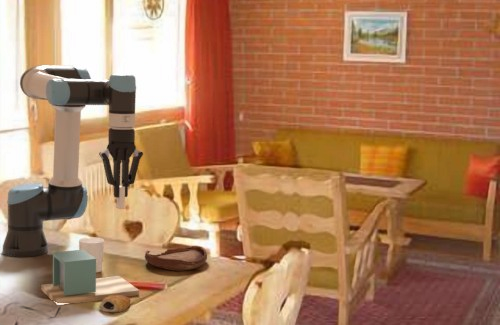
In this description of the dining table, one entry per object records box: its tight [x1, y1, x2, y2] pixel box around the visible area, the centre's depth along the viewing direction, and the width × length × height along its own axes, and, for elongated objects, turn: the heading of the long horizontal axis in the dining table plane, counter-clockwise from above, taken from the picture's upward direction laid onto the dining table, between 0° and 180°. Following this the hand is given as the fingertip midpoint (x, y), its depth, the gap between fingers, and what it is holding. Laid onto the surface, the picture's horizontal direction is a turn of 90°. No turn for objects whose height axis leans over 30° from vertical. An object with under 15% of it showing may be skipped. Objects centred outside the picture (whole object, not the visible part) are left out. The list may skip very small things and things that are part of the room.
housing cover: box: [52, 249, 97, 296], centre depth 220 cm, size 11×9×10 cm
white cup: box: [78, 236, 105, 274], centre depth 245 cm, size 8×8×10 cm
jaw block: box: [59, 261, 64, 292], centre depth 219 cm, size 6×6×8 cm
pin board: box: [40, 275, 140, 304], centre depth 223 cm, size 16×24×4 cm, turn 121°
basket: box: [144, 245, 208, 272], centre depth 258 cm, size 22×20×5 cm
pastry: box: [98, 295, 131, 314], centre depth 210 cm, size 9×7×4 cm
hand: (120, 208), depth 224 cm, fingers closed
